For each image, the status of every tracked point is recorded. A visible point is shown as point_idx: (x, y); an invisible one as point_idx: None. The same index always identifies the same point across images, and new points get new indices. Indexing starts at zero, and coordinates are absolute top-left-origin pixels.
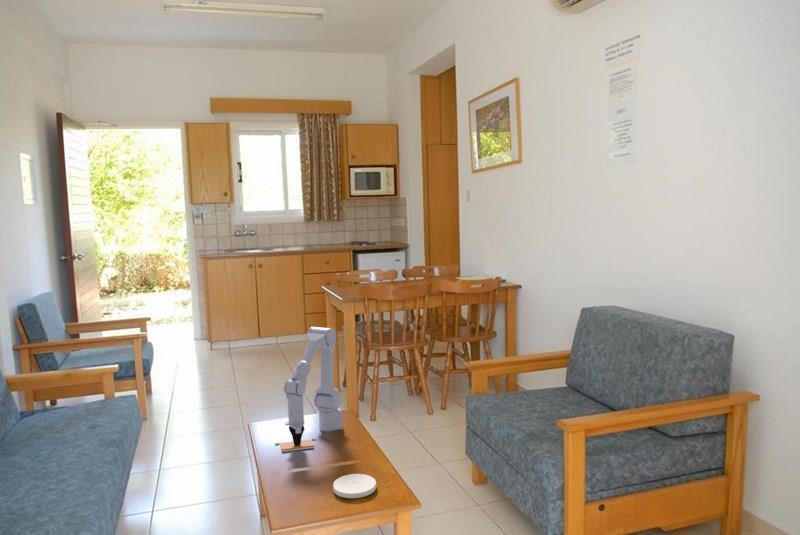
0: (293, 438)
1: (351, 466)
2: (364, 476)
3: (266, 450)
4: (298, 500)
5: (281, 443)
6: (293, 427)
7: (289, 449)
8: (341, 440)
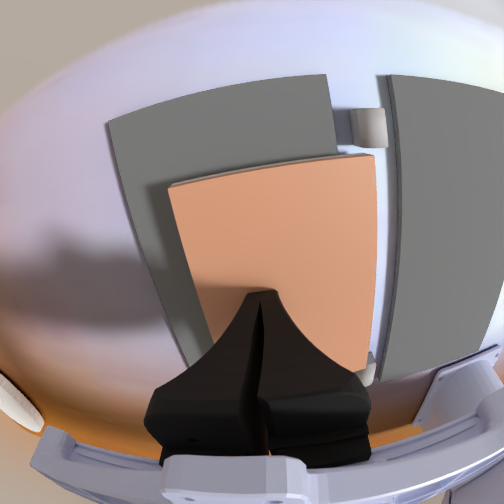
0: (219, 340)
1: (100, 426)
2: (32, 424)
3: (309, 38)
4: None
5: (365, 167)
6: (72, 471)
7: (187, 251)
8: None
